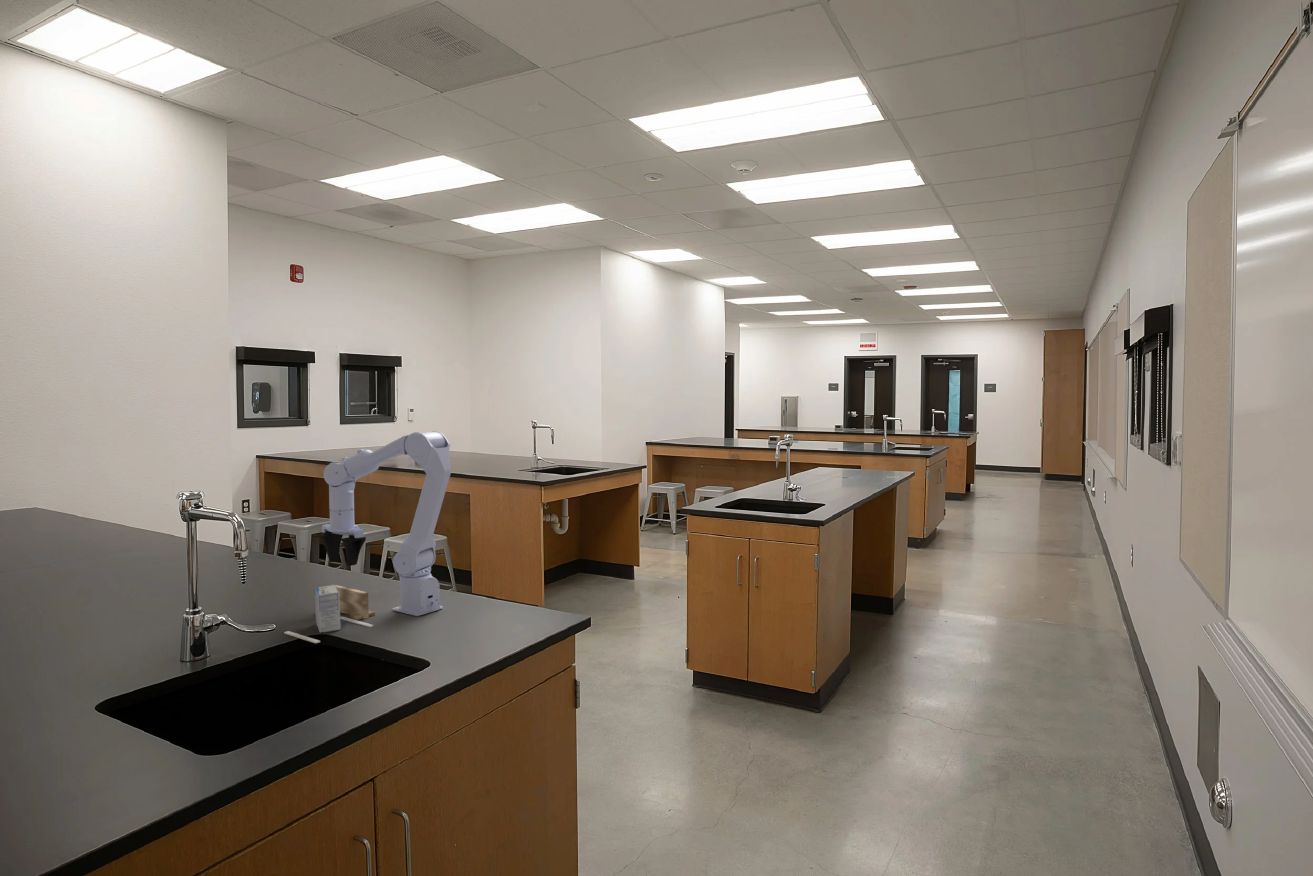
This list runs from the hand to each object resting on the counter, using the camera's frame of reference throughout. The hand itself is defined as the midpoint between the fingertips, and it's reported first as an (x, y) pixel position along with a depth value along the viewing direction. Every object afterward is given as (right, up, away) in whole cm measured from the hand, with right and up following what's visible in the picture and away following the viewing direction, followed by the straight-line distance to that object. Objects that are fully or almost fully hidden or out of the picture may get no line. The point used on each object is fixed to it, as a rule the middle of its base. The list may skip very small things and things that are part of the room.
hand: (343, 563), depth 182 cm
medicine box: (+4, -12, -18) cm, 22 cm away
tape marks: (+6, -12, -20) cm, 24 cm away
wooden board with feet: (+5, -11, -7) cm, 14 cm away
